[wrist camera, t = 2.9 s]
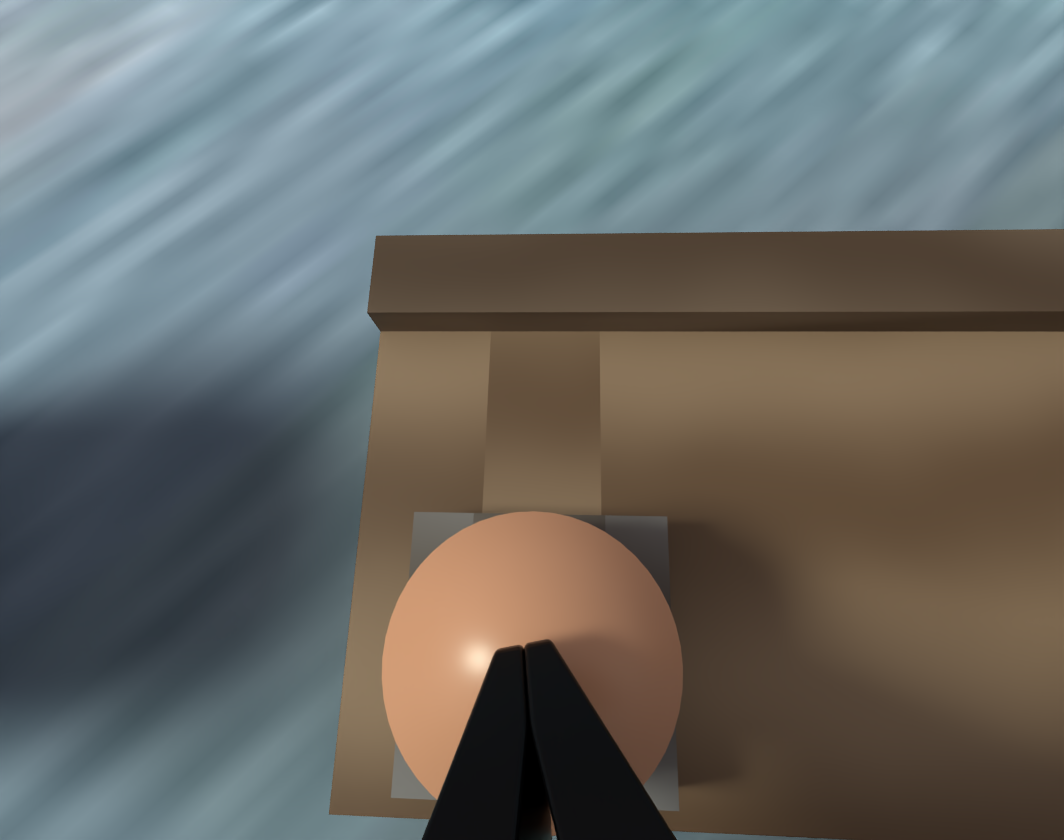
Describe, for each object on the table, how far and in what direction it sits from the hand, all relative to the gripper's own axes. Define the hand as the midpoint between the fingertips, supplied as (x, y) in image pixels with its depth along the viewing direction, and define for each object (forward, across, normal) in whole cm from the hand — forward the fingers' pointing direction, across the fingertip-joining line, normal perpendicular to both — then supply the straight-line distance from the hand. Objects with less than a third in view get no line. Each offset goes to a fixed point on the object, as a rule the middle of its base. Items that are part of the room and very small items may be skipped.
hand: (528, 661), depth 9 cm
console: (+6, -8, +4) cm, 10 cm away
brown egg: (+4, 0, +4) cm, 6 cm away
